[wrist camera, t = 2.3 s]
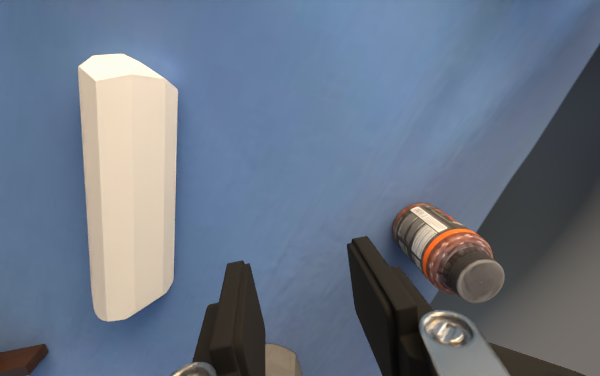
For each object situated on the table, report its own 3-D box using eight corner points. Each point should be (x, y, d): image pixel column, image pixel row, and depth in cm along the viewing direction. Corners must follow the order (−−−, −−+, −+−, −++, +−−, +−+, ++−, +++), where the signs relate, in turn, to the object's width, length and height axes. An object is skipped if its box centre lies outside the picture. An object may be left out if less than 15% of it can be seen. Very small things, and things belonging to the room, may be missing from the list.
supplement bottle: (451, 221, 36) (532, 276, 25) (414, 258, 36) (477, 327, 26) (417, 190, 34) (487, 235, 23) (379, 230, 35) (431, 290, 24)
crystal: (183, 319, 31) (192, 63, 24) (97, 346, 27) (80, 43, 20) (164, 280, 36) (167, 63, 30) (90, 297, 32) (75, 47, 26)
